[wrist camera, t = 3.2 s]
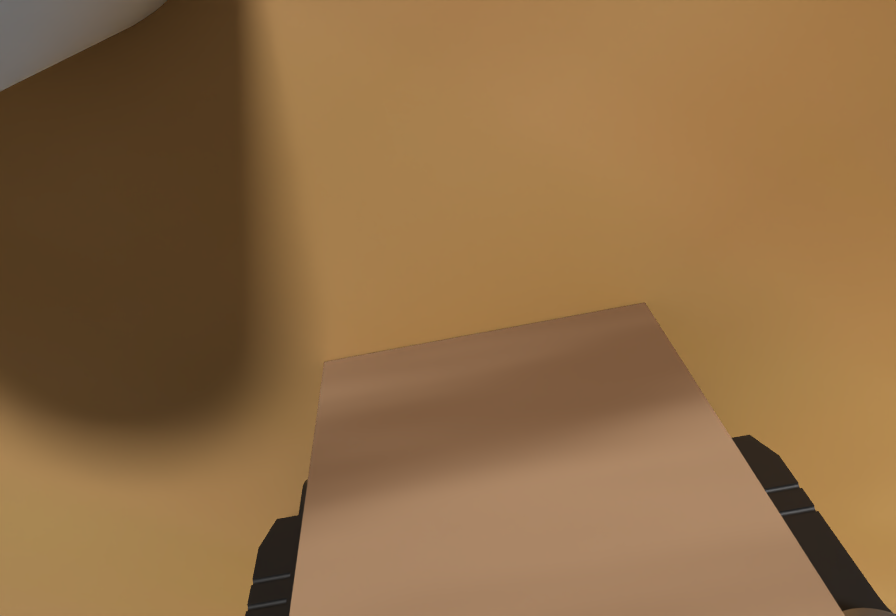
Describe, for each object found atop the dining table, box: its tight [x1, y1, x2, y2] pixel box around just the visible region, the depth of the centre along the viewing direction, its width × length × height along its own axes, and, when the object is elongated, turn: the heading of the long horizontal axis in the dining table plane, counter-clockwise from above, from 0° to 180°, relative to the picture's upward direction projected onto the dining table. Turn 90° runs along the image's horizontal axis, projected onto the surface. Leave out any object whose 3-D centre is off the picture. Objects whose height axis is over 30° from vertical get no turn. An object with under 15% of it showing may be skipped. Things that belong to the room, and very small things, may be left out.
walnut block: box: [289, 303, 845, 616], centre depth 9 cm, size 5×5×6 cm
